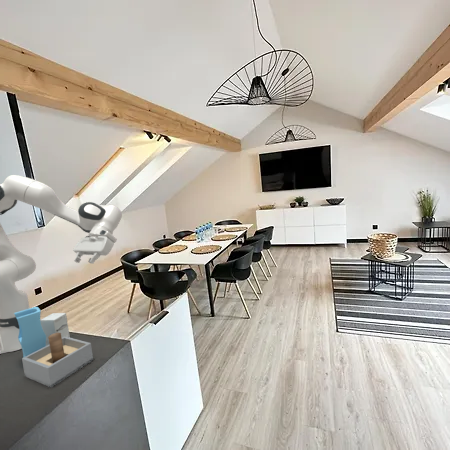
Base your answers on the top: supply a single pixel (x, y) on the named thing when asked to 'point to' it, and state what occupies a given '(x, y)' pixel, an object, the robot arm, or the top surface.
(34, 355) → the bore box
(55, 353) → the peg
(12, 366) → the top surface
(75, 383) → the top surface
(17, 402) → the top surface
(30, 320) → the blue curved piece
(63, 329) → the supplement box
